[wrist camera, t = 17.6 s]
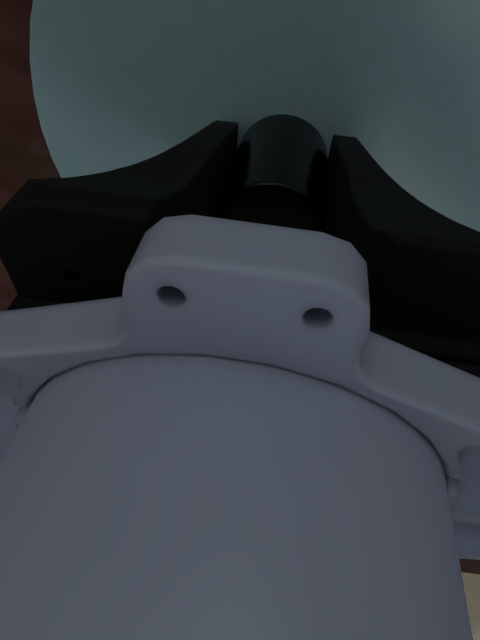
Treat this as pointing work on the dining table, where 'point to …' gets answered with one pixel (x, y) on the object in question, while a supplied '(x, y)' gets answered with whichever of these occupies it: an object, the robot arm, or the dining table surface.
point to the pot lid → (267, 93)
